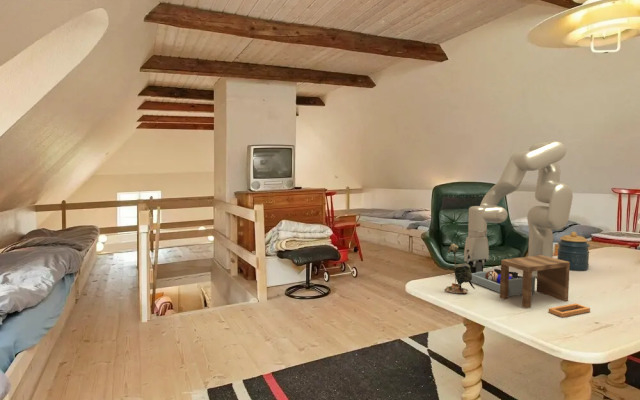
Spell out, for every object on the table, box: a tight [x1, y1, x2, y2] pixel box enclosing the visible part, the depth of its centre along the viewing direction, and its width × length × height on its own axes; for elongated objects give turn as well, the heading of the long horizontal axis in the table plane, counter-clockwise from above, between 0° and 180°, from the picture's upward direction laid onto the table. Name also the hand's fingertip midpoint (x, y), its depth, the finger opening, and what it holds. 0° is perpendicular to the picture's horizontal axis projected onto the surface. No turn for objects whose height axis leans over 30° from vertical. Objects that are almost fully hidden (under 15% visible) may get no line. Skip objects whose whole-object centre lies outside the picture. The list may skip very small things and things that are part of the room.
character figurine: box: [485, 268, 523, 284], centre depth 156 cm, size 8×7×15 cm
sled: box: [470, 260, 536, 297], centre depth 160 cm, size 13×26×7 cm, turn 20°
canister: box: [556, 231, 591, 272], centre depth 185 cm, size 13×13×18 cm
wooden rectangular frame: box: [548, 303, 591, 318], centre depth 130 cm, size 13×5×1 cm, turn 110°
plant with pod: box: [444, 243, 476, 294], centre depth 151 cm, size 8×11×20 cm
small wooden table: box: [499, 255, 570, 309], centre depth 142 cm, size 20×12×15 cm, turn 110°
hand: (476, 274), depth 171 cm, fingers closed on sled, 3 cm apart
